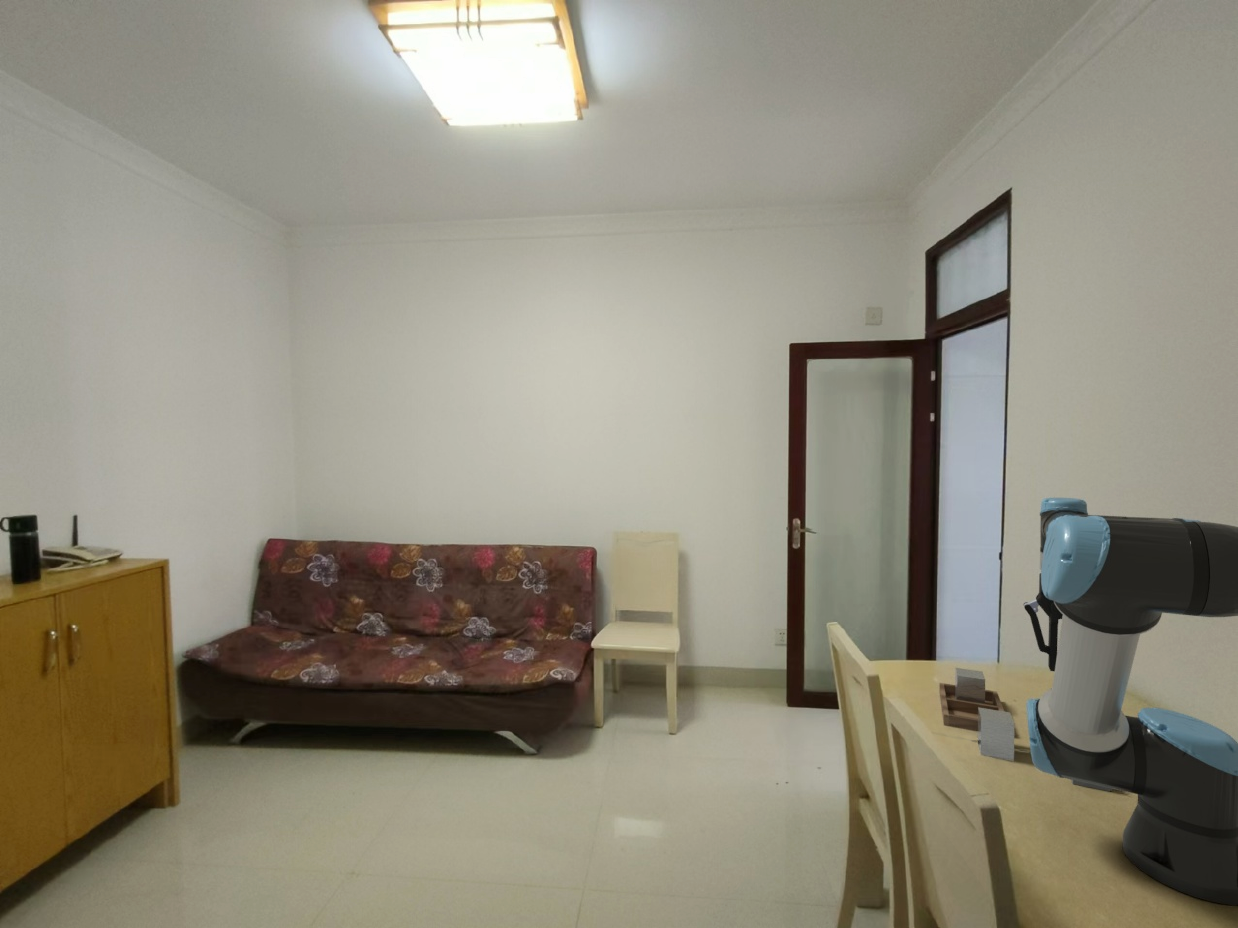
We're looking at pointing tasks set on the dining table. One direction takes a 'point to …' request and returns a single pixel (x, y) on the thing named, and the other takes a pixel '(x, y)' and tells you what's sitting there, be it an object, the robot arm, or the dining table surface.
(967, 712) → the wooden cubby shelf
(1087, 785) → the button housing
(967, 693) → the block
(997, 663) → the dining table surface
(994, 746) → the block
